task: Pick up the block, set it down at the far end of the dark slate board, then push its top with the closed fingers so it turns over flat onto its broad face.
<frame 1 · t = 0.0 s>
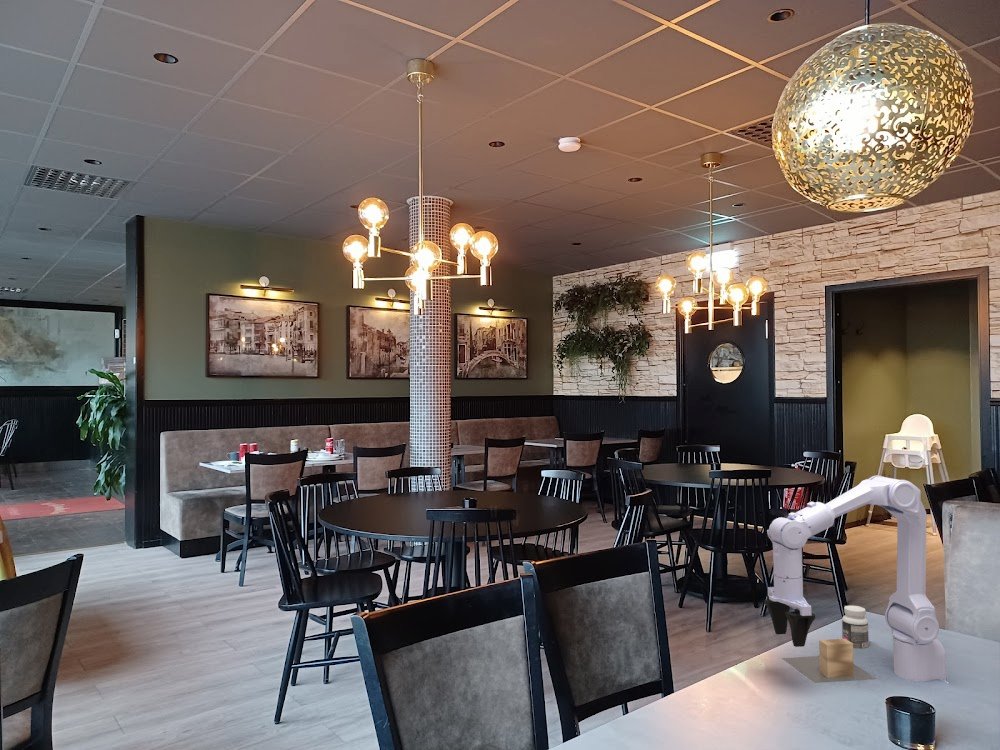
hand: (789, 639, 152), 10 cm above the table, fingers open, 7 cm apart
block: (836, 674, 155), point 1 cm above the table, touching board
pill bottle: (855, 650, 173), on the table
board: (827, 673, 159), on the table
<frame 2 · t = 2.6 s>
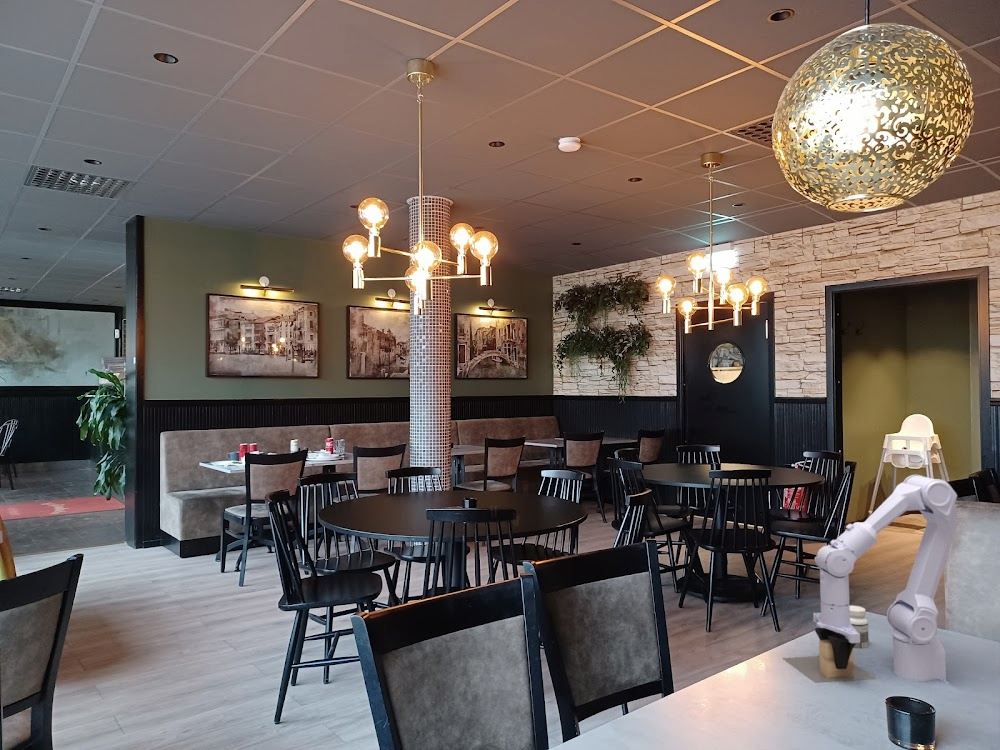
hand: (836, 665, 156), 3 cm above the table, fingers closed on block, 3 cm apart
block: (836, 674, 155), point 1 cm above the table, touching board, gripper
everything else where it was.
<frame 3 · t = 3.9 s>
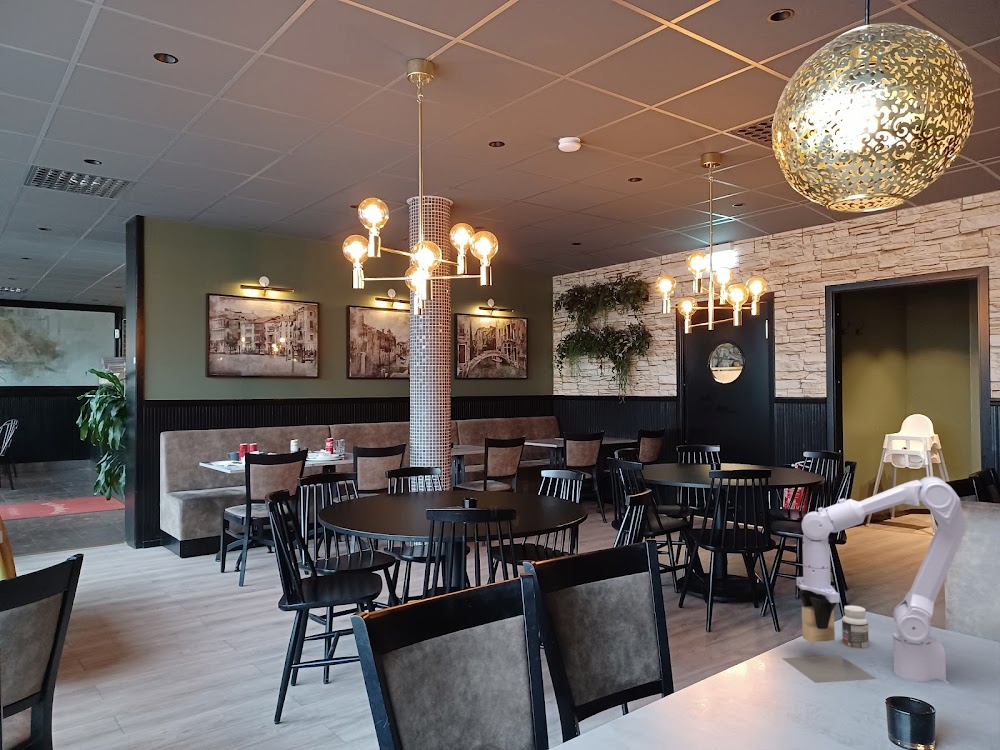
hand: (818, 625, 163), 9 cm above the table, fingers closed on block, 3 cm apart
block: (818, 639, 163), point 6 cm above the table, touching gripper
everything else where it was.
when the fingers open (4 cm above the table, at t = 5.5 s): block stays where it is, resting on board.
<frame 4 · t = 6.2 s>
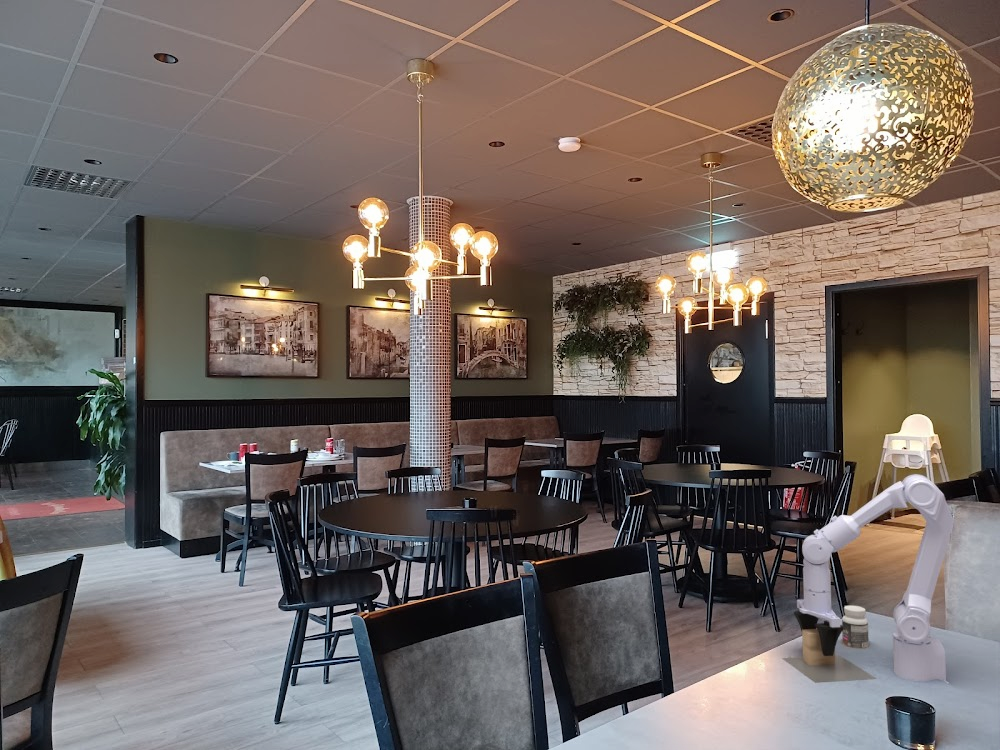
hand: (818, 649, 162), 4 cm above the table, fingers open, 7 cm apart
block: (819, 662, 162), point 1 cm above the table, touching board
everything else where it was.
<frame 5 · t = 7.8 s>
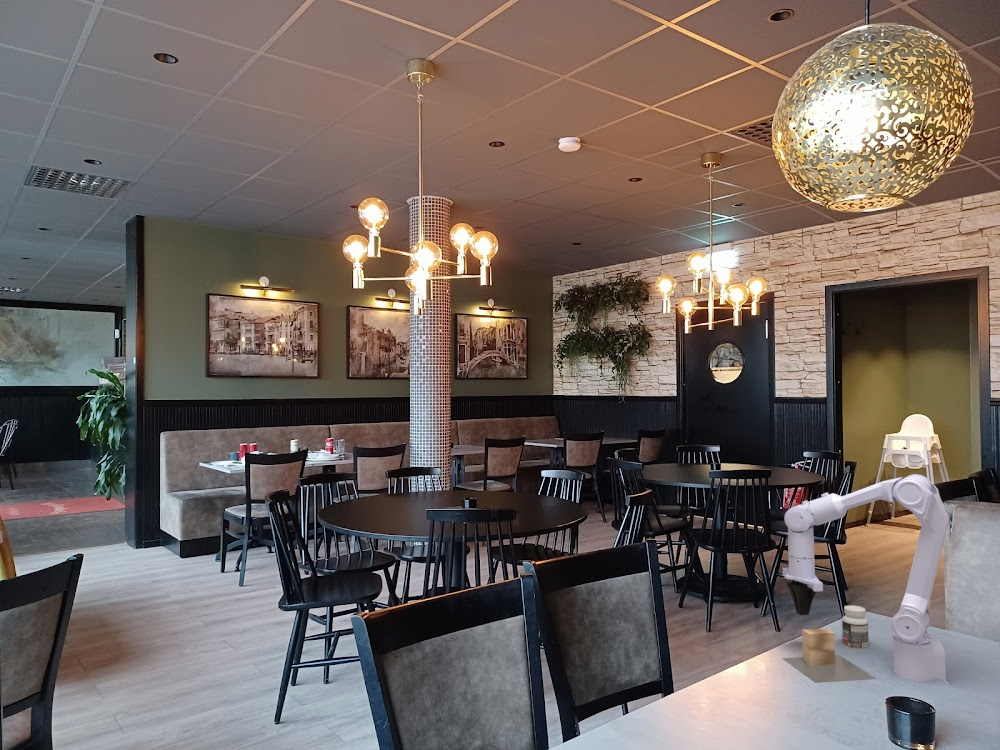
hand: (802, 614, 169), 10 cm above the table, fingers closed
nothing on the table moved.
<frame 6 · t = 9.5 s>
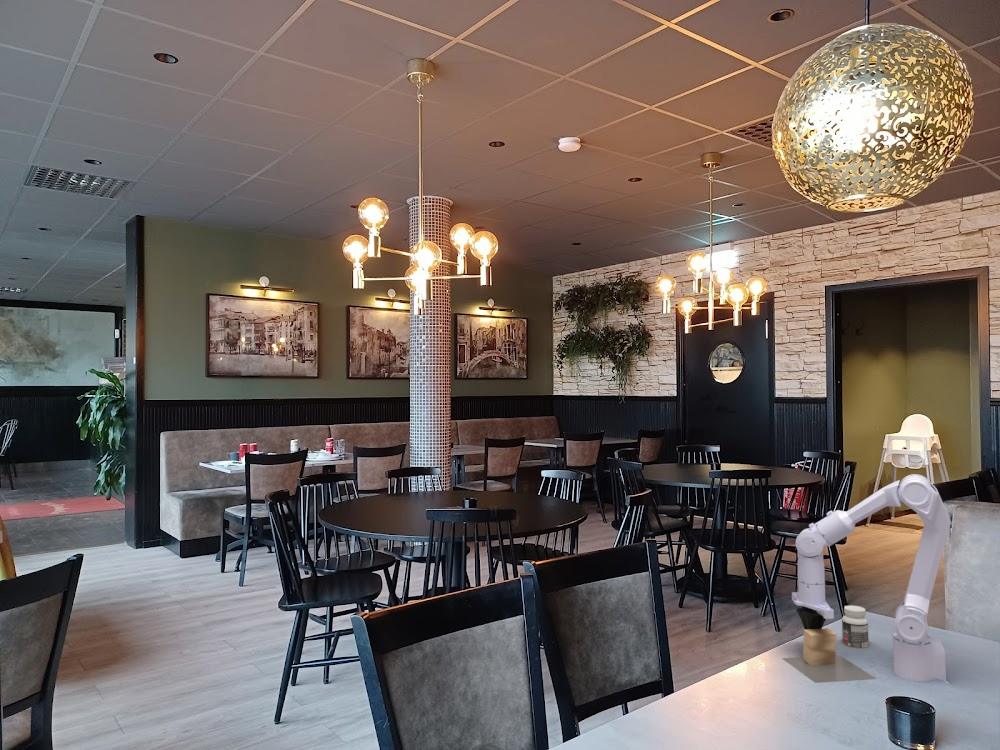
hand: (812, 640, 165), 5 cm above the table, fingers closed
block: (819, 661, 162), point 1 cm above the table, tilted 6°, touching board, gripper
everything else where it was.
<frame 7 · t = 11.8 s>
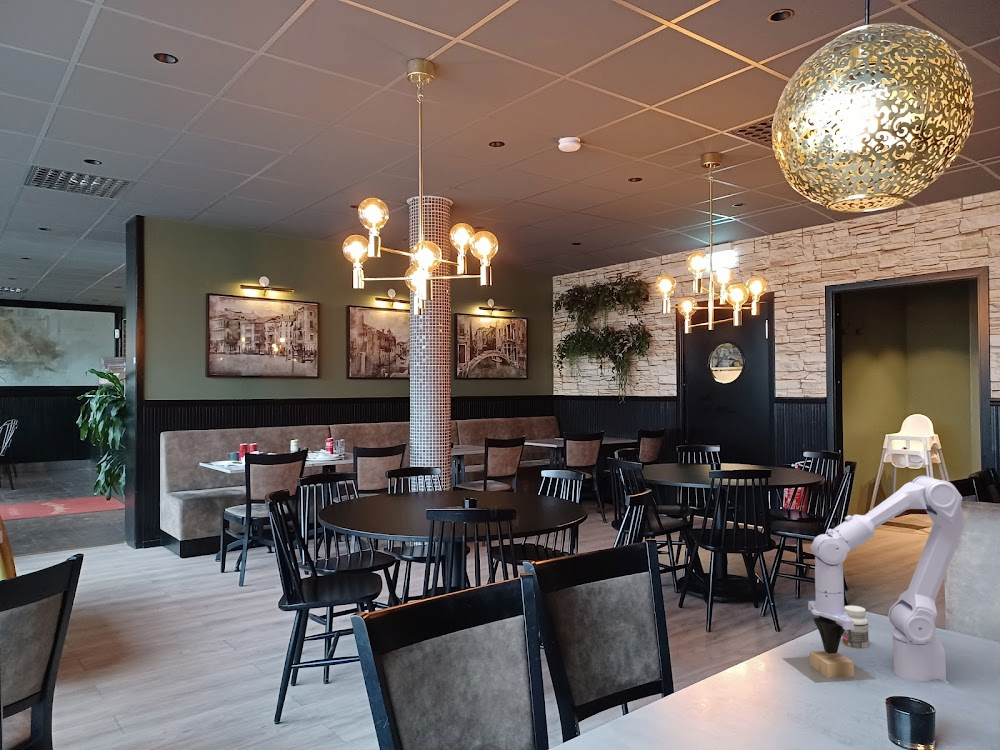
hand: (831, 652, 158), 5 cm above the table, fingers closed
block: (822, 658, 161), point 3 cm above the table, tilted 90°, touching board
everything else where it was.
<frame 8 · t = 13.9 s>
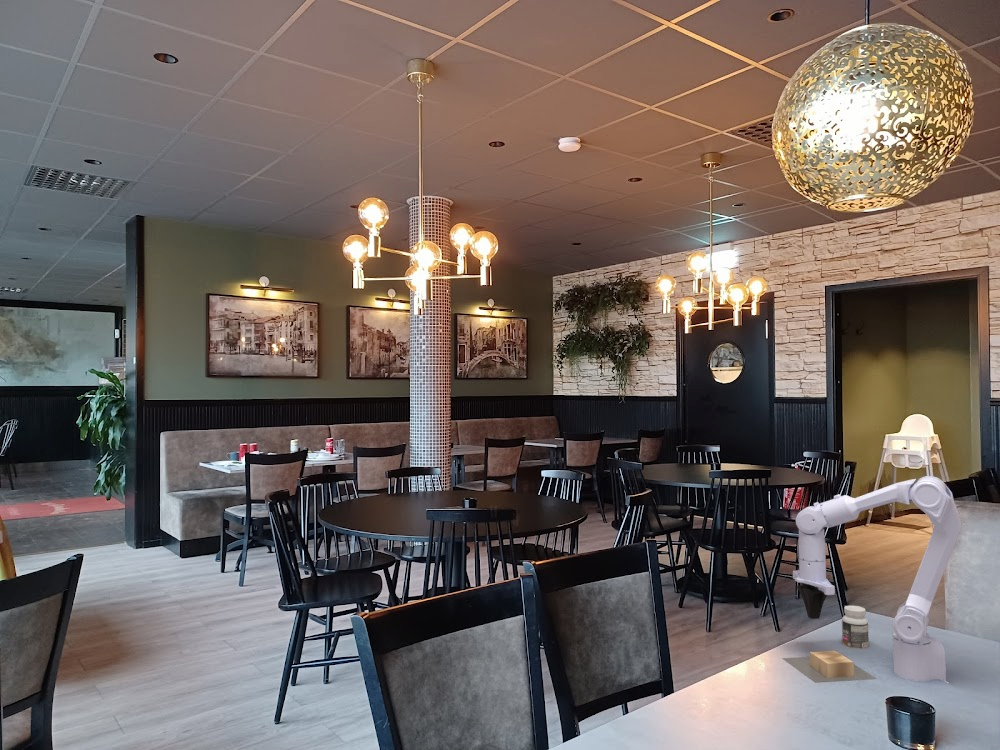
hand: (813, 617, 166), 10 cm above the table, fingers closed
nothing on the table moved.
at the end: block tilted 90°; block inside the target area (2.2 cm from its centre), point 2.7 cm above the table; the gripper is holding nothing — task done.
